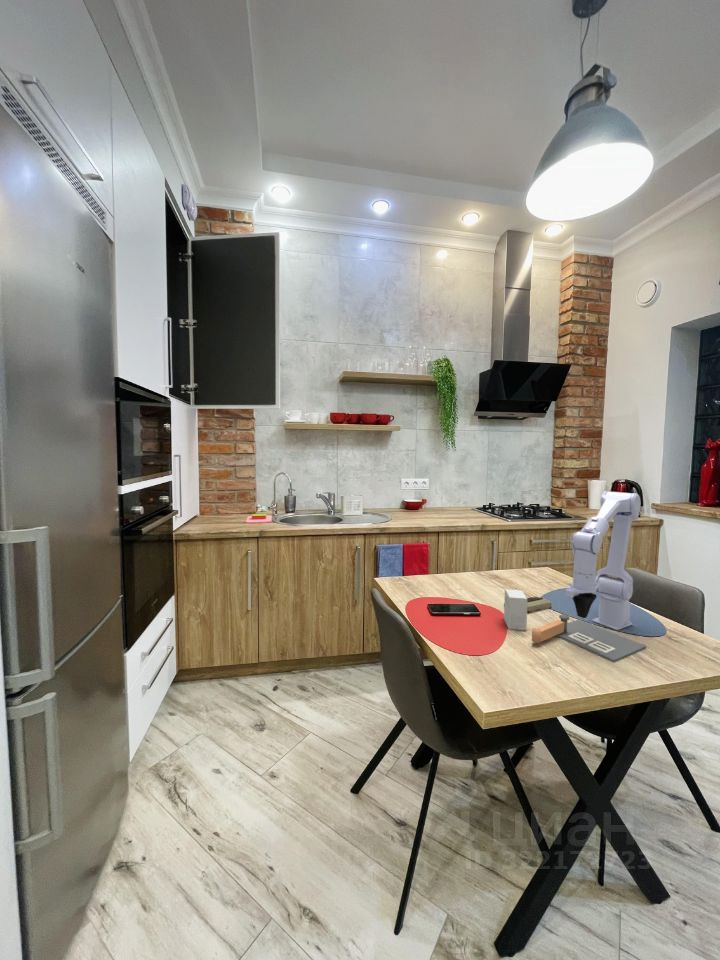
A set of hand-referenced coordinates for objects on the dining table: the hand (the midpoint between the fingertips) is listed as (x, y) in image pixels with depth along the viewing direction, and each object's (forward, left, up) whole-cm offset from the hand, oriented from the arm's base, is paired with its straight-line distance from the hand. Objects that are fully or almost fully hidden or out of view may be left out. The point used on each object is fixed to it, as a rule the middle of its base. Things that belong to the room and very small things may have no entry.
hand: (582, 616), depth 114 cm
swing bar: (+9, -5, -6) cm, 12 cm away
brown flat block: (-7, -24, -8) cm, 27 cm away
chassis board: (-4, +2, -7) cm, 9 cm away
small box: (+9, -16, -8) cm, 20 cm away
